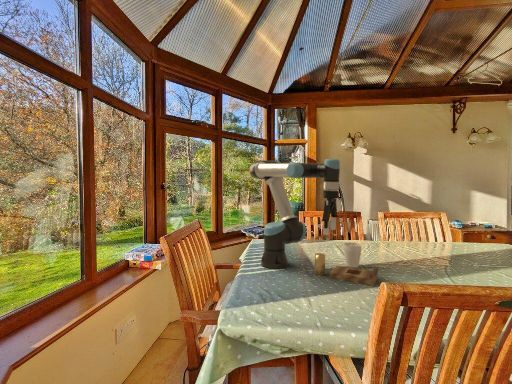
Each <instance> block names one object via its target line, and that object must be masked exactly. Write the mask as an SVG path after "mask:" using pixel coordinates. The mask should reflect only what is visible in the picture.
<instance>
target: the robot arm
mask: <svg viewBox="0 0 512 384" xmlns="http://www.w3.org/2000/svg"><path fill="white" fill-rule="evenodd" d="M340 164H341V163H340V160H339V159H335V158H334V159H333V158H330V159H329V158H326V159H324V162H323V163H318V162H316V163H315V162H309V163H308V162H280V161H278V160H265V159H263V160H261V159H258V160H255V161H253V162H251V164H250V166H249V173H250V176H252V177H253V178H254V179H257V180H264V182H265V185H267V186H268V187H269V189H270V192H271V196H272V198H273V201H274V204H275V207H276V211H277V213H278V216H279V219H280V221H272V222H269V223H266V224H265V225H264V228H263V244H264V245H263V248H264V249H263V254H262V255H261V256H262V257H261V259H260V265H261V267H263V268H267V269H272V270H273V269H274V270H276V269H277V270H278V269H284V268H287V267H288V266H289V260H288V256H287V253H286V245H291V244H297V243H299V242H300V243H301V242H302V241H304V239H305V238H306V235H307V227H306V225H305V224H304V223H303V222H302V221H299V220H300V219H299V218H298V216H297V215H295V214H294V211H293V208H292V205H291V202H290V199H289V197H288V194H287V191H286V189H285V186H284V183H283V180H284V178H291V179H303V178H304V179H323V187H322V188H323V193H322V196H323V199H326V200H324V205H323V206H324V207H323V213H322V219H321V222H323V225H322V226H323V227H322V228H323V229H322V231H323V232H322V233H323V234H322V235H325V236H326V235H327V236H330V230H331V231H332V230H333V231H336V229H337V218H339V215H338V209H337V208H338V207H337V206H338V205H337V199H339V198H340V194H339V193H340V191H339V189H340V187H341V183H340V172H341V171H340V170H341V165H340ZM330 216H331V217H330Z"/></svg>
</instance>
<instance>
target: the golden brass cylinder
mask: <svg viewBox="0 0 512 384" xmlns="http://www.w3.org/2000/svg"><path fill="white" fill-rule="evenodd" d="M314 275H315V276H320V277H323V276H325V275H326V254H325V253H315V254H314Z"/></svg>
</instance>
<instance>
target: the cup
mask: <svg viewBox="0 0 512 384" xmlns="http://www.w3.org/2000/svg"><path fill="white" fill-rule="evenodd" d="M343 250H344V252H343V253H344V259H345V267H350V268H359V266H360V261H361V255H362V244H360V243H358V242H345V243H344V246H343Z"/></svg>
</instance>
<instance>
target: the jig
mask: <svg viewBox="0 0 512 384" xmlns="http://www.w3.org/2000/svg"><path fill="white" fill-rule="evenodd" d="M378 272H379V267H376V266H375V267H374V266H373V269H372V270H369V269H364V268H363V269H362V268H358V267H356V268H352V267H348V266H343V265H336V266H334V267H333V268H332V269H331V270H330V271H329V279H333V280H339V281H344V282H349V283H356V284H360V285H365V286H371V287H374V286H375V284H376V282H377V281H378V278H379V276H378V275H379V273H378Z"/></svg>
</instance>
